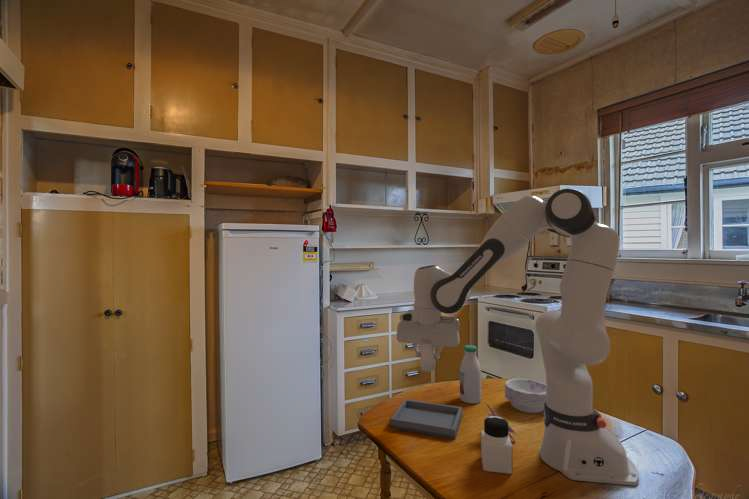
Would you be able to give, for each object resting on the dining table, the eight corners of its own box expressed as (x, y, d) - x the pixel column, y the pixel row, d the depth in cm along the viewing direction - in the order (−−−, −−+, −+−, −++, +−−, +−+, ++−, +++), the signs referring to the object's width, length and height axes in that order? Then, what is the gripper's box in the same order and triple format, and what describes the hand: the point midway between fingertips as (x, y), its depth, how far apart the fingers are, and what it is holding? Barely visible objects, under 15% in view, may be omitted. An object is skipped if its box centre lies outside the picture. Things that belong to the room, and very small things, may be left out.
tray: (462, 416, 126) (462, 407, 126) (455, 439, 111) (455, 429, 111) (404, 407, 133) (404, 398, 133) (390, 428, 118) (390, 418, 118)
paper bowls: (554, 404, 135) (554, 382, 135) (547, 421, 122) (547, 397, 122) (510, 395, 143) (510, 374, 143) (499, 410, 130) (499, 387, 130)
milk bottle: (483, 398, 140) (483, 345, 140) (477, 406, 134) (477, 350, 133) (463, 394, 144) (463, 342, 144) (456, 401, 138) (456, 347, 138)
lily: (515, 458, 103) (528, 424, 105) (474, 436, 106) (487, 404, 108) (506, 449, 114) (518, 418, 116) (470, 429, 117) (481, 400, 119)
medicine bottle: (512, 474, 94) (512, 427, 94) (483, 471, 96) (483, 424, 95) (508, 458, 101) (508, 414, 101) (481, 455, 103) (480, 412, 102)
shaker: (436, 367, 123) (436, 337, 123) (433, 372, 119) (433, 340, 119) (422, 366, 125) (422, 336, 125) (419, 370, 120) (418, 339, 120)
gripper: (461, 315, 121) (461, 358, 121) (400, 311, 128) (400, 352, 128) (458, 319, 115) (458, 364, 115) (394, 315, 122) (395, 357, 122)
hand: (427, 357), depth 122 cm, fingers closed on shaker, 5 cm apart
